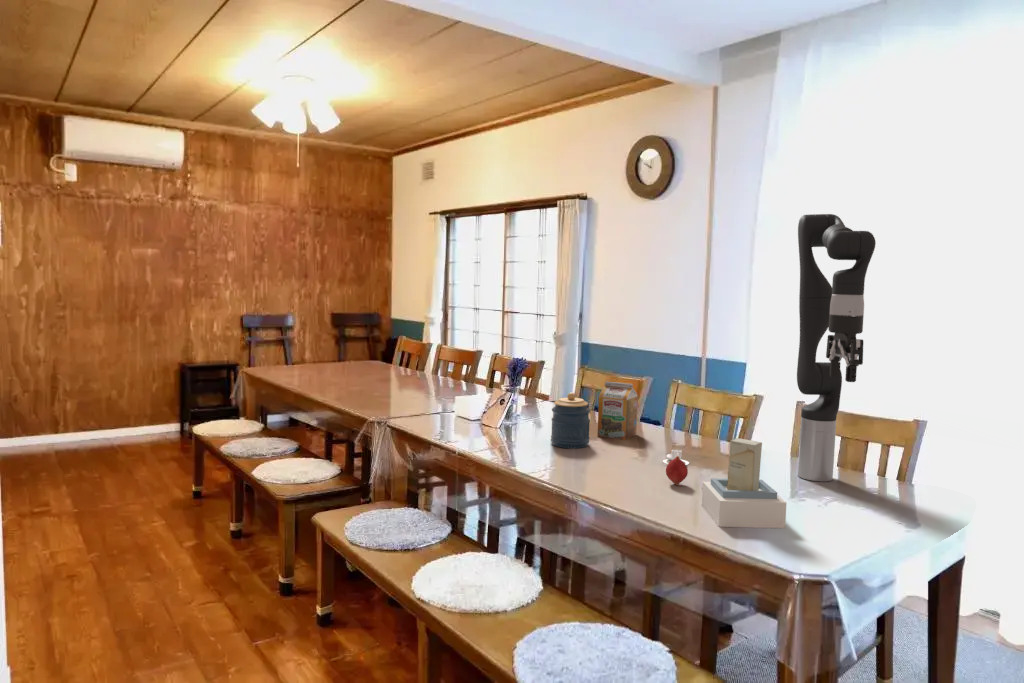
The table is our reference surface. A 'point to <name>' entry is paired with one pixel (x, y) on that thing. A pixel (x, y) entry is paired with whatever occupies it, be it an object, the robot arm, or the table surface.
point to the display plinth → (743, 505)
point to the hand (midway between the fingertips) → (842, 379)
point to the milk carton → (617, 411)
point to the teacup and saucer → (674, 454)
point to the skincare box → (744, 465)
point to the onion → (676, 470)
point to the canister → (570, 423)
